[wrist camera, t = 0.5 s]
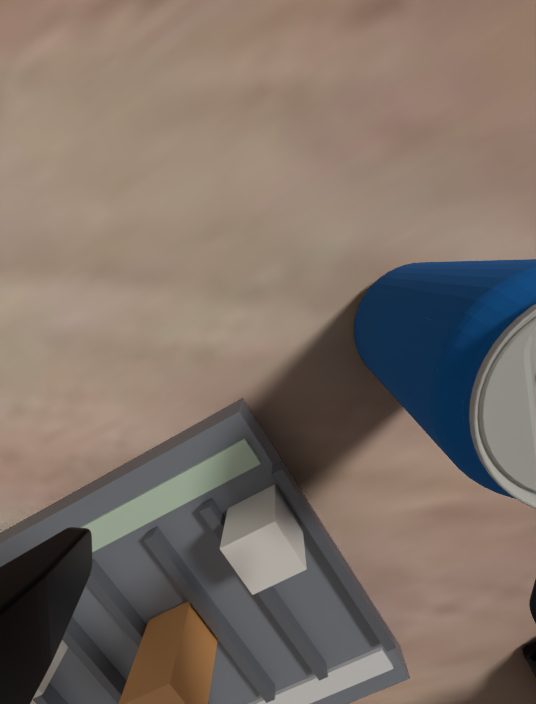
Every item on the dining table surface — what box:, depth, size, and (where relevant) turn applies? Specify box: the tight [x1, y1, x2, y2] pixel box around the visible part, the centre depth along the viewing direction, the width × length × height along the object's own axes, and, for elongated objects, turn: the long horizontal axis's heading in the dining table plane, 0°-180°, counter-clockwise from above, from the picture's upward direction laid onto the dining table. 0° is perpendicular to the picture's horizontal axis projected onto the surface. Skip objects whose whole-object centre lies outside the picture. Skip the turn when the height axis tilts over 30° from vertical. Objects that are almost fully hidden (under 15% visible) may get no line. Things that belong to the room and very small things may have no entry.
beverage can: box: [354, 259, 536, 509], centre depth 14 cm, size 6×6×12 cm
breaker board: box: [0, 398, 410, 704], centre depth 22 cm, size 20×21×5 cm
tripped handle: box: [119, 601, 218, 704], centre depth 20 cm, size 3×3×4 cm
